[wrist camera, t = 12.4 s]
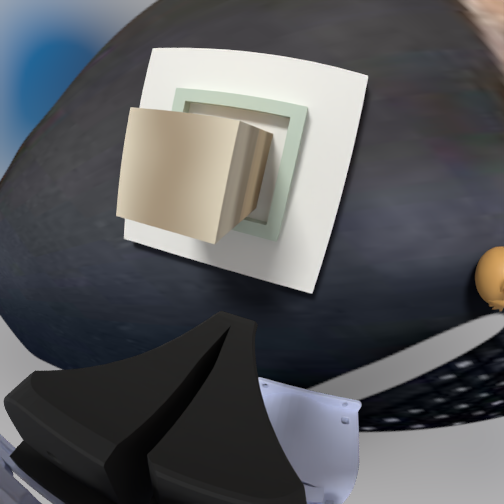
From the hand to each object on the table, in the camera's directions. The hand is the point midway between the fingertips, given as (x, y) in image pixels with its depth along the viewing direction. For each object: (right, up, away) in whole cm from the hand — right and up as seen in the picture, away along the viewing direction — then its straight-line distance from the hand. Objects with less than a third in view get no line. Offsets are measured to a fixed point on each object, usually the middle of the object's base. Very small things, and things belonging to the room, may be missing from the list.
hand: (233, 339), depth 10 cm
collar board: (-1, +9, +8) cm, 12 cm away
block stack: (-1, +8, +8) cm, 11 cm away
